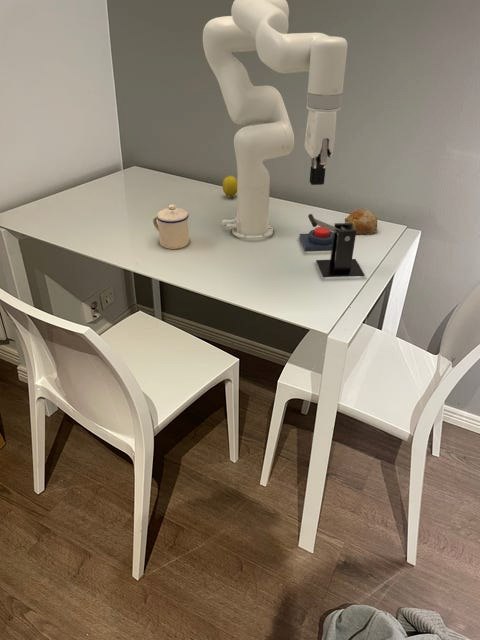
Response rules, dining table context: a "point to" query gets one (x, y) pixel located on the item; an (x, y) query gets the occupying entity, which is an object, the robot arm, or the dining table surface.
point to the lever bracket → (341, 255)
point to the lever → (324, 224)
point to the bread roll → (362, 222)
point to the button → (321, 232)
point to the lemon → (230, 186)
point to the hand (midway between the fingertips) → (316, 183)
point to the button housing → (316, 242)
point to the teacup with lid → (172, 227)
